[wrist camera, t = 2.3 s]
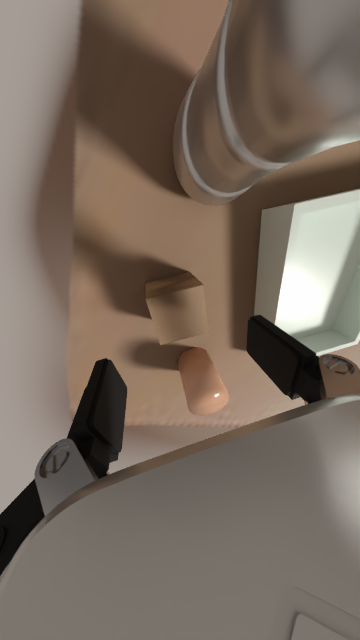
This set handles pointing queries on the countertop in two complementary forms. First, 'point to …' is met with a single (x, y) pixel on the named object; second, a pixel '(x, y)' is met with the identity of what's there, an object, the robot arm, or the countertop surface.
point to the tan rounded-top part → (201, 382)
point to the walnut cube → (177, 307)
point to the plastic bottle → (268, 94)
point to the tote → (312, 270)
